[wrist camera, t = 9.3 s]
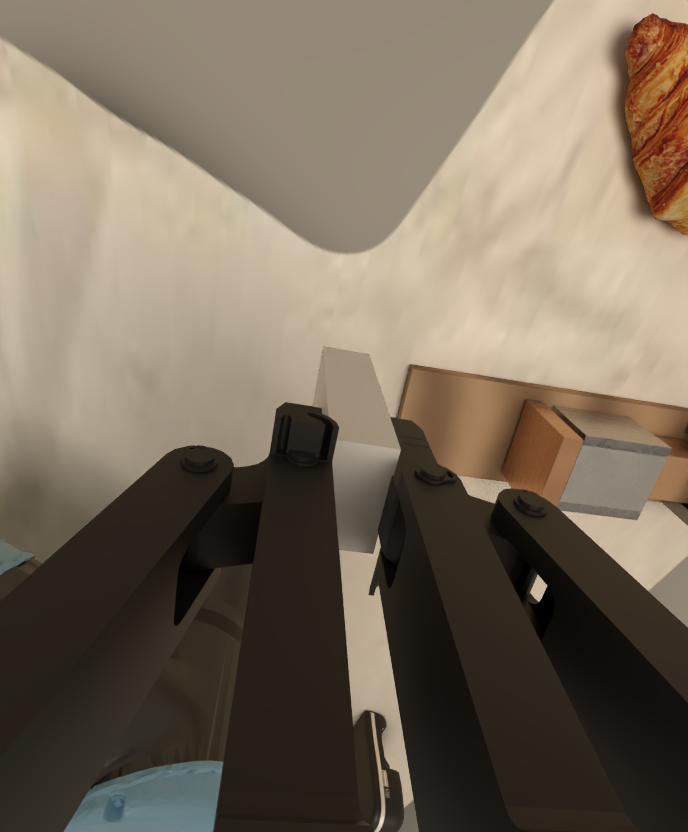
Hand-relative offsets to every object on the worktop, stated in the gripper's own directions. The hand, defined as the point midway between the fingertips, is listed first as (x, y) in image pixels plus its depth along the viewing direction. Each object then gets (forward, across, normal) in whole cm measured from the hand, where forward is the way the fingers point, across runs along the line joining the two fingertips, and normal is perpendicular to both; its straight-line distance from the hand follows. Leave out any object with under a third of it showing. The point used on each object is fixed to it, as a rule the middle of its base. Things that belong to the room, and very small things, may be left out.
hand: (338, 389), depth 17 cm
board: (+25, +24, -10) cm, 36 cm away
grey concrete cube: (+23, +24, -10) cm, 35 cm away
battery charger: (+25, +14, -51) cm, 58 cm away
